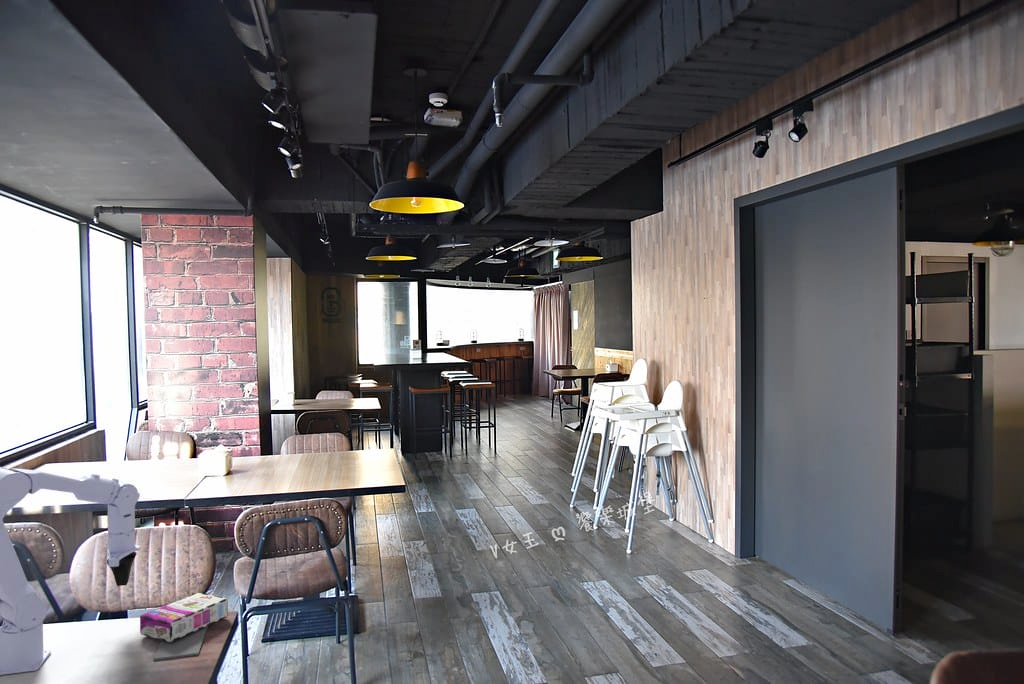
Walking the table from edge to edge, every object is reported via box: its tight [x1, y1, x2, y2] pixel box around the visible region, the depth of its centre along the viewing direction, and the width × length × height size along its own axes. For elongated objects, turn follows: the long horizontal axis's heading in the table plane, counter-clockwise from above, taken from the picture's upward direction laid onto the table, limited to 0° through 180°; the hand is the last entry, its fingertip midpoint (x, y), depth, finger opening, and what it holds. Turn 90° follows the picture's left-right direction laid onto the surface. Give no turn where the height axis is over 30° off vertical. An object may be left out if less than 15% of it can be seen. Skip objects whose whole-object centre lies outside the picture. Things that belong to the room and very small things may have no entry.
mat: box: [153, 625, 209, 661], centre depth 154 cm, size 9×14×1 cm, turn 17°
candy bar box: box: [139, 592, 229, 642], centre depth 161 cm, size 11×5×16 cm
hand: (122, 584), depth 161 cm, fingers closed
